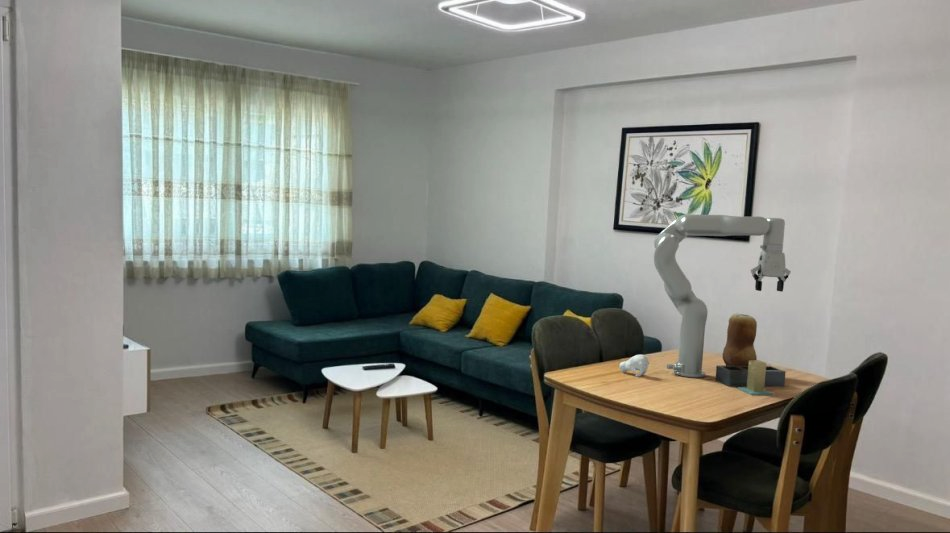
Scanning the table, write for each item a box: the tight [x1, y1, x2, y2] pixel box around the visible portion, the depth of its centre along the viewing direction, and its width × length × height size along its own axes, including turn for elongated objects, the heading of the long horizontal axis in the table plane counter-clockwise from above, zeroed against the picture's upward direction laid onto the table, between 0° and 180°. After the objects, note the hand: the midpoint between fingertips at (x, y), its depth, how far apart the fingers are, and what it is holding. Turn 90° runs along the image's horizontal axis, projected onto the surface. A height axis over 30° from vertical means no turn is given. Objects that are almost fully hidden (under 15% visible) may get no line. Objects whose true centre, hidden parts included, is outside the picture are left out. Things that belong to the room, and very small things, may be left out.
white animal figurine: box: [618, 354, 650, 378], centre depth 291 cm, size 6×8×12 cm
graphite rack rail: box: [715, 365, 787, 388], centre depth 285 cm, size 24×10×6 cm, turn 102°
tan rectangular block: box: [747, 359, 767, 392], centre depth 271 cm, size 4×4×11 cm
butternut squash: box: [722, 312, 758, 366], centre depth 304 cm, size 14×13×25 cm
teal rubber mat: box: [737, 387, 774, 396], centre depth 272 cm, size 9×9×1 cm
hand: (769, 290), depth 292 cm, fingers open, 9 cm apart
